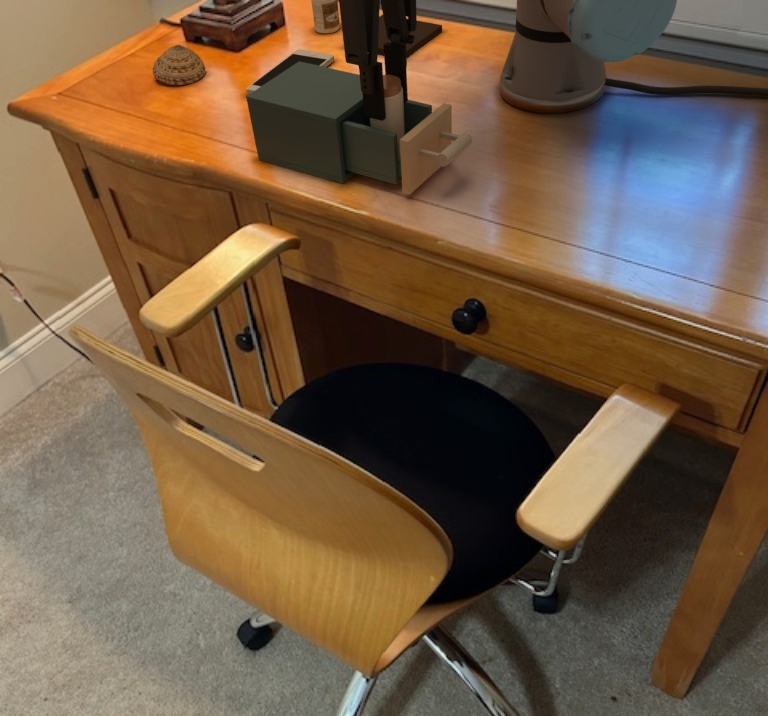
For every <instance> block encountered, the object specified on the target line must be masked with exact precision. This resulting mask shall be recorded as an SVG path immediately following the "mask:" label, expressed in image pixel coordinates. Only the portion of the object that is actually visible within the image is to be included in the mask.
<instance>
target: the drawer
mask: <svg viewBox="0 0 768 716" xmlns="http://www.w3.org/2000/svg"><path fill="white" fill-rule="evenodd" d="M452 112H453V111H452V104H449V103H444V102H443V103H442V104H441V105H440V106H438V107H437V108H435V110H434V111H433V106H432V104H429V103H424V102H419V101H415V100H411V99H408V101H407V102H406V103H404V122H405V136H403V137H402V138H401V139H400V155H401V161H400V162H399V159H398V142H397V133H393V132H389V131H385V130H381V129H377V128H373V127H370V118H368V117H365V115H364V105H362V106H361V107H360V108H358V109H357V110H356V111H354V112H353V113H352V114H350V115H349V116H348V117H346V118H345V119H344V120H343V121H341V122H340V129H341V138H342V147H343V156H344V164H345V170H347V171H350V172H354V173H356V174H357V175H361V176H365V177H369V178H371V179H376V180H378V181H383V182H386V183H390V184H393V185H398V184H399V183H400V182H401V189H402V193H405V194H408V195H411V194H412V193H413V192H415V190H416V189H418V188H419V187H420V186H421V185H422V184H424V182H425V181H427V180H428V179H429V178H430V177H431V176H432V175H433V174H435V172H437V171H438V170H439V169H440V168H441V167H447V166H448V165H449V164H450V163H451V162H452V161H453V160H454V159H456V158H457V157H458V156H459V155H461V153H462V152H463V151H464V150H466V149H467V148H469V146H470V145H471V144H472V142H473V136H472V134H471V133H470V132H468V131H463V132H462V133H461V134H456V133H452V131H453V130H452V129H453V128H452V127H453V126H452V124H453V122H452V120H453V119H452V118H453V117H452V114H453V113H452Z"/></svg>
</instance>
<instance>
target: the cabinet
mask: <svg viewBox="0 0 768 716" xmlns="http://www.w3.org/2000/svg"><path fill="white" fill-rule="evenodd" d="M245 98H246V102H247V108H248V113H249V118H250V123H251V128H252V133H253V138H254V143H255V149H256V152H257V158H258V160H259V161H262V162H265V163H269V164H272V165H275V166H278V167H279V166H280V167H283V168H287V169H289V170H294V171H296V172H300V173H304V174H307V175H311V176H314V177H317V178H321V179H325V180H328V181H330V182H335V183H338V184H342V185H344V184H345V183H346V182H347V181H349V180H350V179H351V178H352V177H353V176H355V175H356V174H357V173H354V172H350V171H347V170H345V164H344V156H343V147H342V138H341V129H340V122H341V121H343V120H344V119H345V118H346V117H348V116H349V115H350V114H352V113H353V112H354V111H356V110H357V109H358V108H360V107H361V106H362V105H364V104H363V93H362V91H361V84H360V74H358V73H353V72H349V71H344V70H339V69H335V68H331V67H328V66H327V67H322V66H318V65H313V64H309V63H304V62H300V61H299V62H297V63H296V64H294V65H293V66H291V67H290V68H288V69H287V70H285V71H284V72H282V73H281V74H279V75H278V76H276V77H275V78H273V79H272V80H270V81H269V82H267V83H266V84H264V85H263V86H261V87H260V88H258V89H257V90H255V91H254V92H252V93H250V94H247V95H246V96H245Z"/></svg>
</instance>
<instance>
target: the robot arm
mask: <svg viewBox="0 0 768 716" xmlns="http://www.w3.org/2000/svg"><path fill="white" fill-rule="evenodd" d="M677 3H678V0H516V10H515V31H514V36H513V38H512V41H511V45H510V47H509V50H508V53H507V55H506V59H505V62H504V65H503V67H502V70H501V73H500V77H499V78H500V79H499V93H500V96H501V97H502V99H503V100H504V101H505V102H507V103H508V104H510V105H511V106H513V107H515V108H517V109H521V110H525V111H528V112H534V113H543V114H556V113H557V114H558V113H568V112H573V111H574V112H575V111H578V110H581V109H584V108H586V107H589V106H591V105H593V104H595V103H596V102H598V101H599V99H601V98H602V97H603V95H604V93H605V89H606V87H610V88H617V89H621V90H622V89H623V90H629V91H634V92H638V93H642V94H643V93H644V94H649V95H659V96H677V95H695V94H696V95H697V94H718V95H719V94H721V95H743V96H755V97H768V88H765V87H749V86H734V85H690V86H689V85H687V86H665V87H664V86H655V85H646V84H642V83H638V82H633V81H627V80H620V79H615V78H607V73H606V72H607V71H606V66H605V63H620V62H625V61H627V60H629V59H631V58H632V57H635V56H638V55H640V54H643V52H645V51H646V50H648V49H649V48H650V47H651V46H652V45H653V44H654V43H656V41H657V40H658V39H659V38H660V37H661V36H662V34H663V33H664V31H666V29H667V27H668V25H669V24H670V22H671V21H672V19H673V16H674V13H675V11H676V8H677ZM380 6H381V11H382V15H383V17H384V23H385V28H386V33H387V38H388V40H391V43H389V42H386V43H385V44H383V46H384V55H383V60H384V71H383V62H380V61H378V55H379V54H378V33H379V17H380ZM338 7H339V16H340V22H341V23H340V25H341V31H342V39H343V40H342V42H343V49H344V58H345V59H344V60H345V62H346V64H348V65H349V64H350V65H354V66H357V67H358V72H359V75H360V84H361V91H362V93H363V104H364V115H365V117H368V118H373V119H377V120H381V121H383V120H384V119H386V113H385V98H384V83H383V75H394V76H397V77H399V78H400V80H401V86H402V88H403V102H404V103H406V102H407V101H408V100H409V96H408V95H409V93H408V77H407V76H408V74H407V73H408V72H407V66H408V59H407V58H408V57H407V56H406V44H413V42H414V36H413V35H409V33H410V32H414V31H415V30H416V27H417V21H418V20H417V0H338ZM384 73H385V74H384Z"/></svg>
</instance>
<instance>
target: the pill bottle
mask: <svg viewBox="0 0 768 716" xmlns="http://www.w3.org/2000/svg"><path fill="white" fill-rule="evenodd" d="M310 1H311V7H312V15H313V24H314V30H315V32H316V33H318V34H332V33H335V32H337V31H338V30H339V29H340V28H341V23H340V22H341V21H340V10H339V0H310Z"/></svg>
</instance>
